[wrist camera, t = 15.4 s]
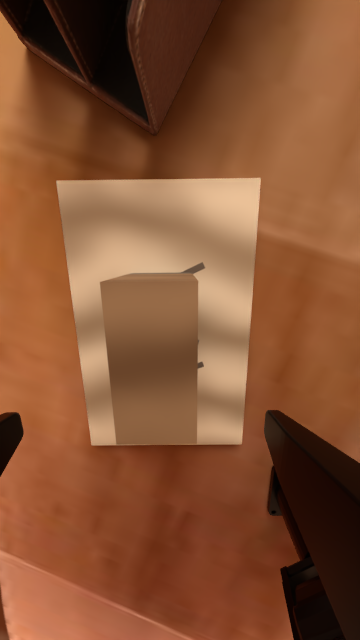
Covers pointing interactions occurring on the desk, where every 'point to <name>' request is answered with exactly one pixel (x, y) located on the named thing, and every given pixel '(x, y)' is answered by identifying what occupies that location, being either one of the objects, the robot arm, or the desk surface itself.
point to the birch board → (167, 257)
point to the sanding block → (152, 356)
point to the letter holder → (117, 47)
